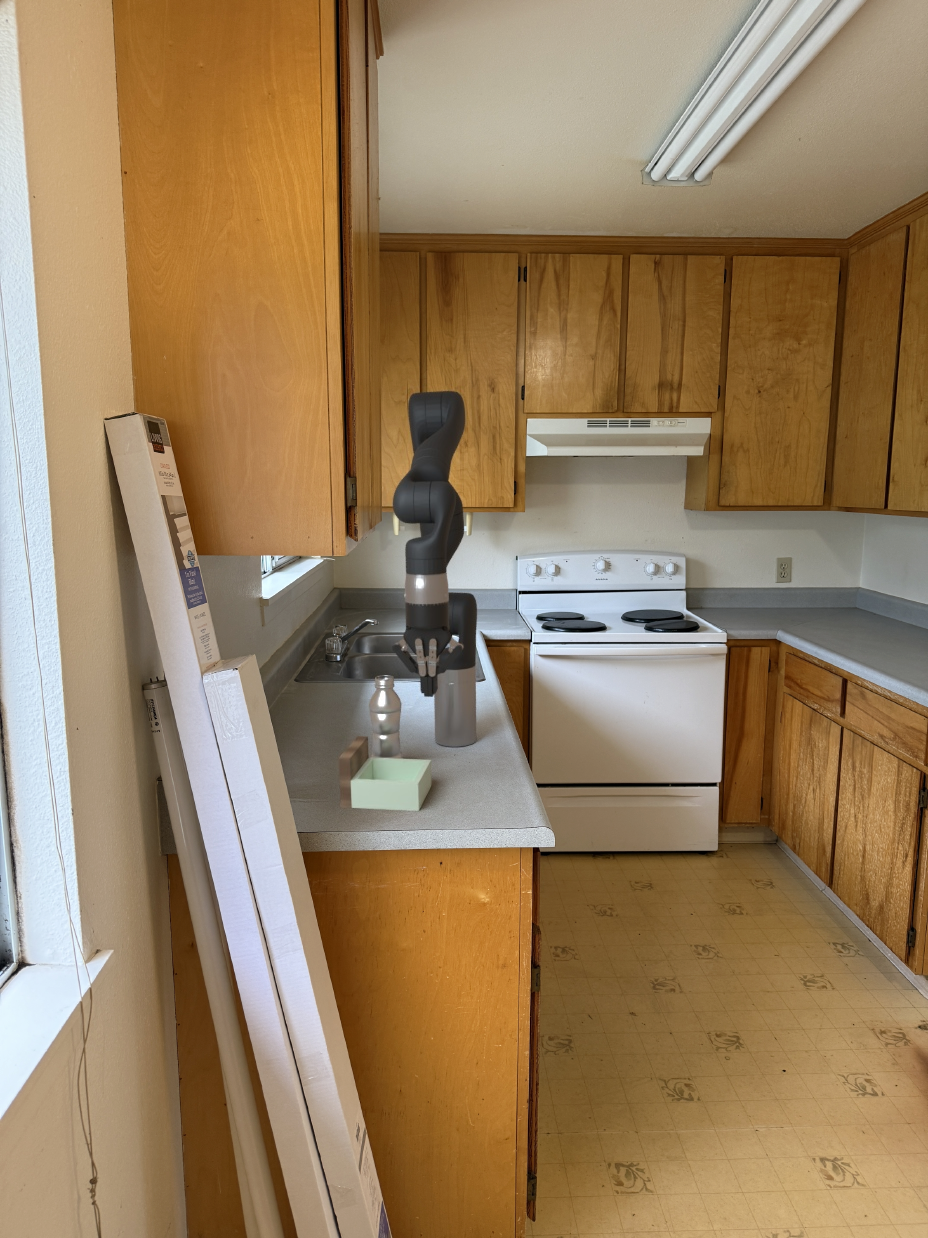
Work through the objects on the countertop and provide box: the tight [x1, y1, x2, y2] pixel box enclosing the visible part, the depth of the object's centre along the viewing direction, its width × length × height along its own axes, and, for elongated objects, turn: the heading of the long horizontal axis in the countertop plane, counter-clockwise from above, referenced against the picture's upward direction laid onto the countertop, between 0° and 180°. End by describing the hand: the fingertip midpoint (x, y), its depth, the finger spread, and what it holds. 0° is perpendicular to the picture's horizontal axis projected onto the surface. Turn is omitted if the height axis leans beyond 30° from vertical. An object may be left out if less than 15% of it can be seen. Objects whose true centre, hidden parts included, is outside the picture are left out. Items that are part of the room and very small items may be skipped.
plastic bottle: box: [368, 674, 404, 759], centre depth 159 cm, size 6×7×20 cm
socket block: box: [351, 757, 432, 812], centre depth 148 cm, size 12×12×5 cm
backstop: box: [338, 735, 370, 809], centre depth 147 cm, size 12×24×10 cm, turn 82°
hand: (429, 695), depth 144 cm, fingers closed
